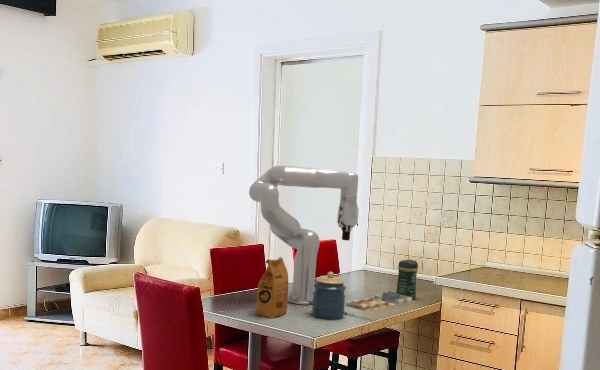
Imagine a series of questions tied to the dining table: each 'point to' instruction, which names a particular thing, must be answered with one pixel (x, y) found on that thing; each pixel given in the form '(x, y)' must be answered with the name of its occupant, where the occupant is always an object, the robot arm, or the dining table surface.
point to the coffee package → (273, 290)
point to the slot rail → (375, 303)
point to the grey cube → (395, 295)
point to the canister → (329, 297)
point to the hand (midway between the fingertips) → (345, 240)
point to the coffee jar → (407, 278)
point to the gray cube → (388, 297)
